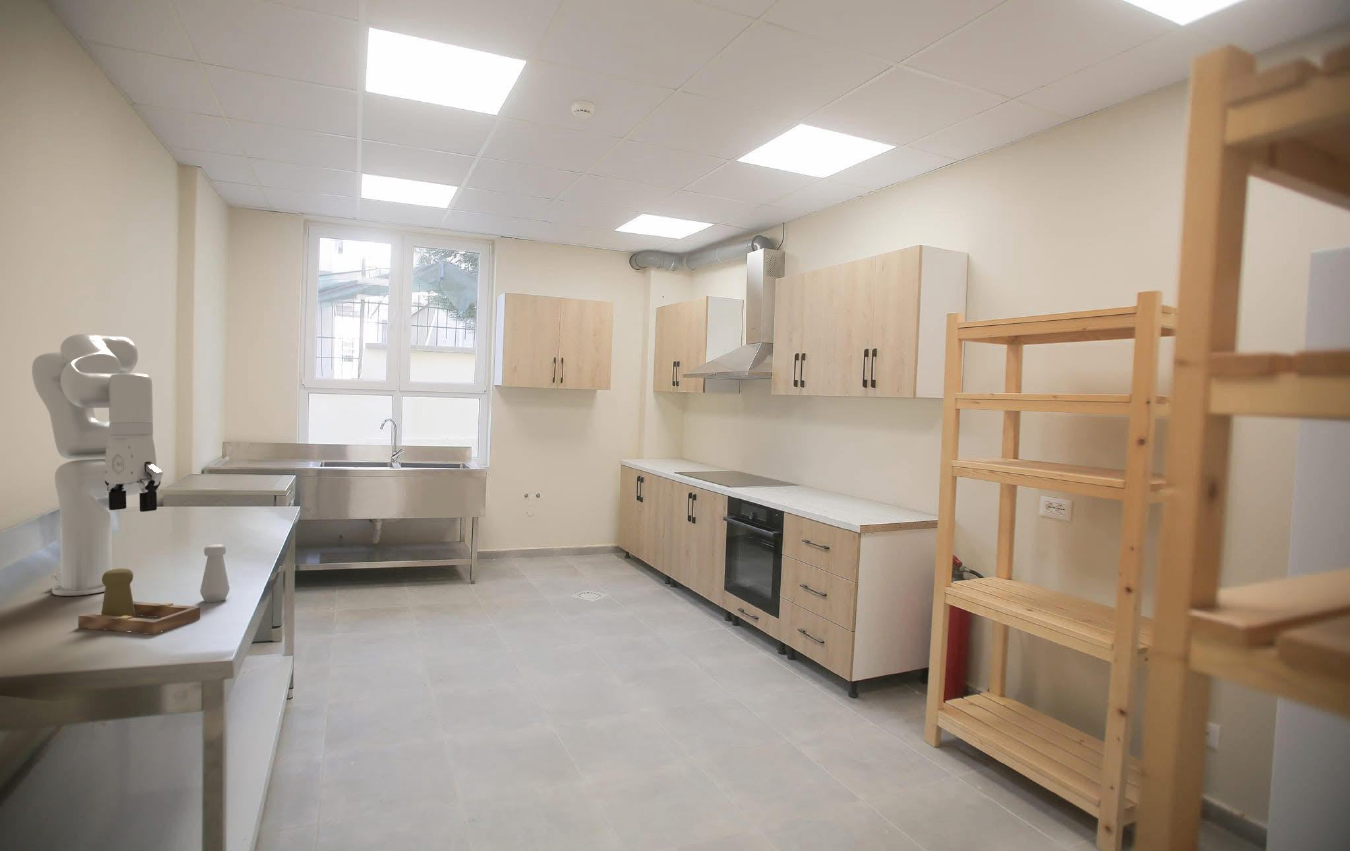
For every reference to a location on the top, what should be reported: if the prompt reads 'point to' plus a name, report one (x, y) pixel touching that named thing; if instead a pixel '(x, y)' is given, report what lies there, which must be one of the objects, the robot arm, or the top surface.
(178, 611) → the wooden u-shaped frame
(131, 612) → the pepper shaker
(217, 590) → the salt shaker
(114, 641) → the top surface
